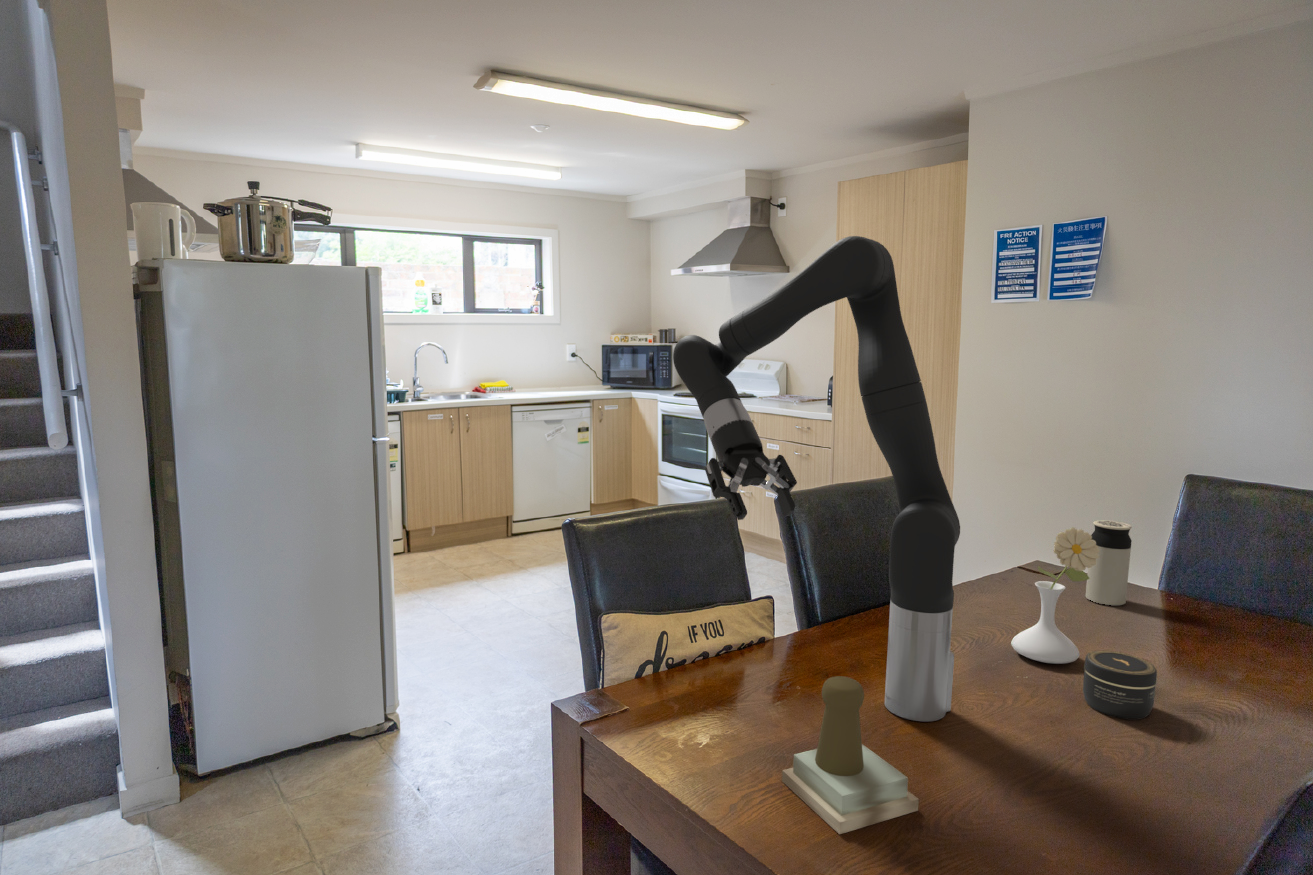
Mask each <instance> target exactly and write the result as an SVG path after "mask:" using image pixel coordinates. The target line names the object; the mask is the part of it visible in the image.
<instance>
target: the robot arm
mask: <svg viewBox="0 0 1313 875" xmlns="http://www.w3.org/2000/svg"><path fill="white" fill-rule="evenodd" d="M895 271H896V270H895V266H894V260H893V257H892V256H891V254H890V252H889V250H888V249H887V247H886V246H885V245H884V244H882V243H881V242H879V241H876V240H874V239H870V238H867V237H866V236H865V237H864V236H859V235H850V236H846V237H843V238H841V239H839V240H837V241H836V242H834V243H833V244H832V245H831V246H830V247H829V248H827V249H826V250H825V251H824V252H823V253H821V254H820V255H819V256H818V257H817V258H816V259H814V260H813V262H811V263H810V264H809V265H808V266H807V267H805V268H804V269H803V270H802V271H800V272H799V273H798V274H797V275H795V276H794V277H793V278H791V279H790V280H789V281H787V282H786V283H785V284H783V285H782V286H781V287H779V288H778V289H776V290H775V291H773V292H772V293H770V294H768V295H767V296H765V297H763V298H762V299H761V300H759V301H757V302H756V303H753V304H752V305H751V306H748V307H747V308H745V309H743V310H742V311H740V312H738V313H737V314H735V315H734V316H732V317H730V318H729V319H727V320H726V321H725V322H724V323H722V324H721V326H720V327H719V329H718V338H719V342H718V343H716V344H714V343H712V342H710V341H709V340H707V339H705V338H704V337H702V336H699V335H695V334H689V335H685V336H683V337H681V338H680V339H679V340H678V341H677V343H676V344H675V346H674V349H673V353H672V360H673V365H674V368H675V370H676V373H677V374H678V376H679V378H680V379H681V381H682V382H683V383H684V385H685V386H686V388H687V389H688V391H689V392H690V393H691V395H692V396H693V398H694V399H695V400H696V404H697V407H698V409H699V411H700V414H701V417H702V418H703V421H704V426H705V430H706V431H707V432H706V433H707V435H708V437H709V440H710V442H711V445H712V447H713V450H714V453H715V455H716V457H717V459H716V458H715V457H711V458H710V459H709V461H708V463H707V464H706V466H705V468H704V471H705V475H706V477H707V481H708V483H709V487H710V489H711V493H712V496H713V497H714V498H715V499H719V498H724V500H726V501H727V502H728V505H729V508H730V510H731V512H732V514H733V516H734V517H736V519H737V520H738V521H743V520H744V519H745V518H746V516H747V515H748V510H747V508H746V504H745V503H744V500H743V497H742V495H741V492H738V490H739V487H740V486H741V487H742V488H743V487H744V488H745V487H749V486H753V487H756V486H757V487H758V486H761V487H762V488H763V489H764V490H767V491H771V492H772V493H773V495H776V496H777V497H776V498H777V502H778V503H779V506H780V508H781V510H782V512H783V515H784V517H788V516H789V517H790V516H791V515H792V514H793V512H794V511H795V509H796V504H795V501H794V499H793V496H792V494H791V491H792V490H793V489H794V487H795V486H796V485H797V484H798V481H797V479H796V477H795V475H794V474H793V472H792V470H791V467H790V466H789V464H788V462H787V461H786V458H785V456H783V455H782V454H778V455H777V457H775V458H769V457H768V456H766V455H765V453H764V449H763V447H764V446H763V443H762V441H761V438H760V436H759V433H758V432H757V429H756V427H755V425H754V423H753V420H752V418H751V416H750V414H749V411H747V409H746V408H745V406H744V404H743V402H742V400H741V398H740V396H739V393H738V391H737V389H736V386H735V385H734V383H733V381H731V379H730V378H728V376H729V375H730V374H731V373H732V372H733V371H735V369H736V368H737V367H738V366H739V365H740V364H741V363H742V362H743V361H744V360H745V359H746V358H747V357H748V356H750V355H751V354H754V353H756V352H757V351H759V350H761V349H762V348H764V347H766V346H767V345H769V344H771V343H773V342H775V341H776V340H777V339H779V338H780V337H782V336H783V335H784V334H785V333H787V332H788V331H789V330H790V329H791V328H792V327H793V326H795V324H796V323H798V322H799V321H800V320H802V319H803V318H804V317H806V316H808V315H809V314H810V313H812V312H814V311H816V310H818V309H820V308H822V307H824V306H826V305H829V304H832V303H834V302H837V301H839V300H842V299H846V298H847V302H848V304H849V307H850V310H851V314H852V317H853V320H854V322H855V327H856V331H857V340H858V351H857V352H858V353H857V355H858V356H857V358H858V359H857V379H858V387H859V393H860V397H861V401H862V405H863V408H864V413H865V416H866V420H867V423H868V427H869V429H870V432H871V434H872V436H873V438H874V440H875V442H876V444H877V446H878V448H879V449H880V451H881V454H882V455H883V457H884V459H885V461H886V462H887V464H888V467H889V469H890V471H891V475H892V478H893V482H894V486H895V487H894V488H895V491H896V496H897V502H898V508H899V509H898V510H899V514H897V516H896V517H895V519H894V521H893V523H892V527H891V531H890V538H889V539H890V541H889V542H890V543H889V562H888V563H889V564H888V583H889V586H890V587H889V588H890V601H889V602H890V603H889V619H888V636H887V654H886V655H887V656H886V672H885V687H884V688H885V691H884V706H885V708H886V709H887V710H888V711H889V712H890V713H892V714H894V715H895V716H897V717H900V718H902V719H906V720H911V721H915V722H934V721H939V720H941V719H943V718H944V717H945V716H946V713H947V712H950V711H951V707H952V695H953V694H952V692H953V679H954V668H955V666H954V664H955V653H954V652H953V651H951V640H952V626H953V623H952V622H953V613H954V612H953V610H954V609H953V608H954V597H955V593H954V588H953V587H954V586H953V585H954V584H953V577H954V576H953V575H954V564H955V562H954V560H955V559H954V558H955V548H956V545H957V544H958V541H959V538H960V536H961V524H960V520H959V517H958V513H957V511H956V508H955V506H954V502H953V501H952V498H951V496H950V492H949V490H948V488H947V485H946V482H945V479H944V477H943V474H942V470H941V467H940V464H939V459H938V455H937V450H936V448H937V447H936V442H935V436H934V433H933V432H934V431H933V427H932V423H931V417H930V412H929V406H928V404H927V399H926V395H925V391H924V387H923V384H922V380H921V376H920V373H919V370H918V368H917V364H916V359H915V356H914V353H913V350H912V346H911V344H910V340H909V337H908V333H907V331H906V328H905V325H904V322H903V316H902V312H901V306H900V300H899V294H898V293H899V292H898V286H897V278H896V272H895ZM722 472H723V473H724V474H725V475H726V476H727V477H728V478H730V480H729V482H728V484H727V485H726V483H725V480H724V477H723V474H722ZM767 476H768V477H769V479H768V480H766V478H767Z"/></svg>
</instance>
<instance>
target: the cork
mask: <svg viewBox="0 0 1313 875" xmlns="http://www.w3.org/2000/svg"><path fill="white" fill-rule="evenodd" d="M821 696H822V701H823V703H824V704H825V706H824V711H823V715H822V720H821V726H820V731H819V737H818V743H817V748H816V749H817V752H816V757H815V762H816V764H817V766H818V767H819V768H821V769H822V770H824V771H825V772H828V773H830V774H833V775H838V776H853V775H856V774H859V773H860V772H861V771H862V770H863V767H864V764H863V752H862V744H863V743H862V742H863V741H862V730H861V717H860V708H861V707H862V706H863V704H864V700H865V691H864V688H863V686H862V684H861V683H860V682H859V681H857V680H855V679H854V678H851V677H848V676H842V675H841V676H840V675H837V676H831V677H828V678H827V679H826V680H825V681H824V683H823V685H822V688H821Z"/></svg>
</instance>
